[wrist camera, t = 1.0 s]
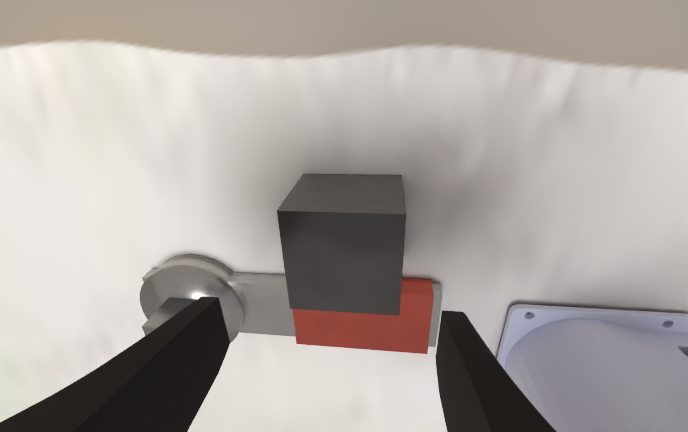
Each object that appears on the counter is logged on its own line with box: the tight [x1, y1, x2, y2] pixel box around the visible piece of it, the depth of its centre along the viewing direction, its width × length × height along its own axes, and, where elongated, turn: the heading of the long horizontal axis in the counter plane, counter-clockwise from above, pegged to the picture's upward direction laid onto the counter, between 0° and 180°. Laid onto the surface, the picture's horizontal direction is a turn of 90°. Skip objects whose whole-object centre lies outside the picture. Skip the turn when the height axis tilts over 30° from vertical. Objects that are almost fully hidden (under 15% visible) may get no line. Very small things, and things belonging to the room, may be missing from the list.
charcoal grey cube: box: [277, 174, 406, 316], centre depth 16 cm, size 5×5×4 cm
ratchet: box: [140, 254, 442, 354], centre depth 19 cm, size 18×6×4 cm, turn 92°
